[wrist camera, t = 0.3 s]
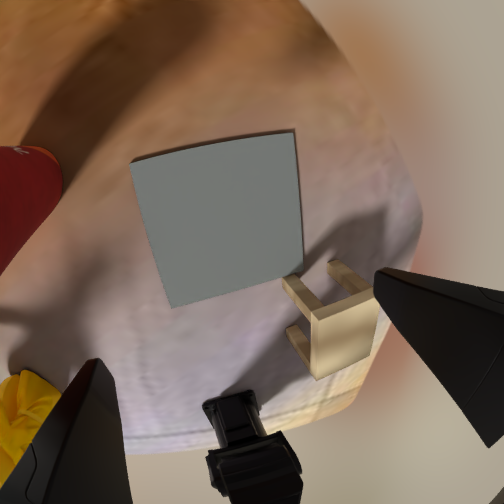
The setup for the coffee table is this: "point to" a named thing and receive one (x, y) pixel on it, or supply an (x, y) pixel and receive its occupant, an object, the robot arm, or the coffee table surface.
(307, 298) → the stool
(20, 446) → the figure statuette
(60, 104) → the coffee table surface
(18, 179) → the paper cup
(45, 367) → the coffee table surface
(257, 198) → the felt pad
